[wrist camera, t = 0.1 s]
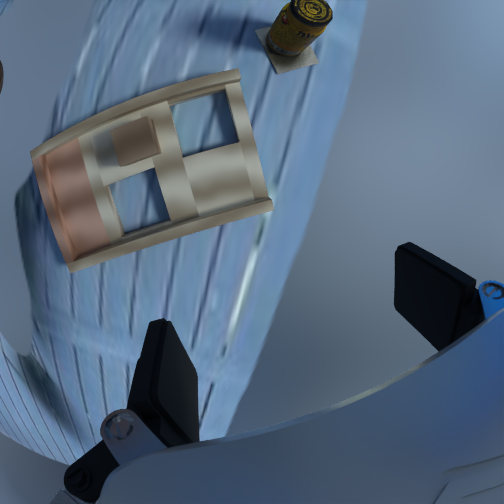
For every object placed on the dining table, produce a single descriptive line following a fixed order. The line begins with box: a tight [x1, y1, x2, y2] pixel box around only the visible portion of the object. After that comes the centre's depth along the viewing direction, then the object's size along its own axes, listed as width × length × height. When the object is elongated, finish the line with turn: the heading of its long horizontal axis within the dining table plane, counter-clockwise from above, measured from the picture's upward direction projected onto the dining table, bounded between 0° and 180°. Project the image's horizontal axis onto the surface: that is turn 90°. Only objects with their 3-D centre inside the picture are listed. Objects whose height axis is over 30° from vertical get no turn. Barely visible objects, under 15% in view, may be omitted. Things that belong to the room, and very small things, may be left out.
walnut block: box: [110, 116, 162, 167], centre depth 30 cm, size 5×5×4 cm
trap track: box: [30, 69, 274, 273], centre depth 34 cm, size 20×32×4 cm, turn 104°
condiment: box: [254, 0, 333, 74], centre depth 26 cm, size 7×8×12 cm
